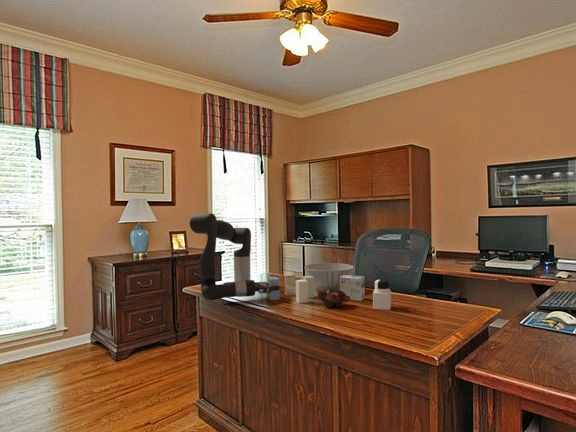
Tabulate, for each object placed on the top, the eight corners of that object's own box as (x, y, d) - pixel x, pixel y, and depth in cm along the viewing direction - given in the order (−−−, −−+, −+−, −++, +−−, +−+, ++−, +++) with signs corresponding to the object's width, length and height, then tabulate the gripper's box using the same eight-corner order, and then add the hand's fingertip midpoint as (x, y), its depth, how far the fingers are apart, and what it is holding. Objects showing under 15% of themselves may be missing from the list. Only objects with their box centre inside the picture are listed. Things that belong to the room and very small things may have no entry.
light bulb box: (365, 298, 180) (364, 275, 180) (361, 301, 174) (361, 278, 173) (343, 296, 184) (343, 274, 184) (339, 299, 178) (339, 276, 178)
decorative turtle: (313, 305, 167) (314, 287, 168) (343, 304, 172) (344, 287, 172) (321, 309, 158) (322, 290, 159) (353, 308, 163) (354, 290, 163)
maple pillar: (284, 293, 191) (284, 274, 190) (293, 293, 192) (292, 274, 192) (287, 295, 186) (287, 275, 186) (295, 295, 188) (295, 275, 187)
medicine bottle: (391, 306, 164) (390, 279, 164) (390, 310, 158) (389, 282, 157) (374, 305, 167) (374, 278, 166) (372, 309, 160) (372, 281, 160)
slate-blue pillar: (268, 298, 182) (268, 277, 182) (277, 297, 183) (277, 277, 183) (270, 300, 178) (270, 279, 178) (279, 299, 179) (279, 278, 179)
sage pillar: (302, 296, 185) (302, 276, 185) (311, 295, 186) (310, 275, 186) (305, 298, 181) (305, 277, 180) (314, 297, 182) (313, 277, 182)
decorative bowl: (342, 296, 183) (342, 272, 183) (295, 291, 197) (295, 268, 197) (361, 286, 206) (361, 264, 206) (318, 282, 220) (318, 261, 220)
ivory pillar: (296, 301, 175) (295, 280, 175) (304, 300, 177) (304, 279, 176) (298, 303, 171) (298, 281, 171) (307, 302, 172) (307, 281, 172)
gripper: (246, 283, 169) (281, 281, 174) (241, 278, 183) (273, 276, 188) (247, 299, 170) (281, 297, 174) (242, 293, 183) (274, 290, 188)
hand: (277, 286), depth 181 cm, fingers open, 8 cm apart
